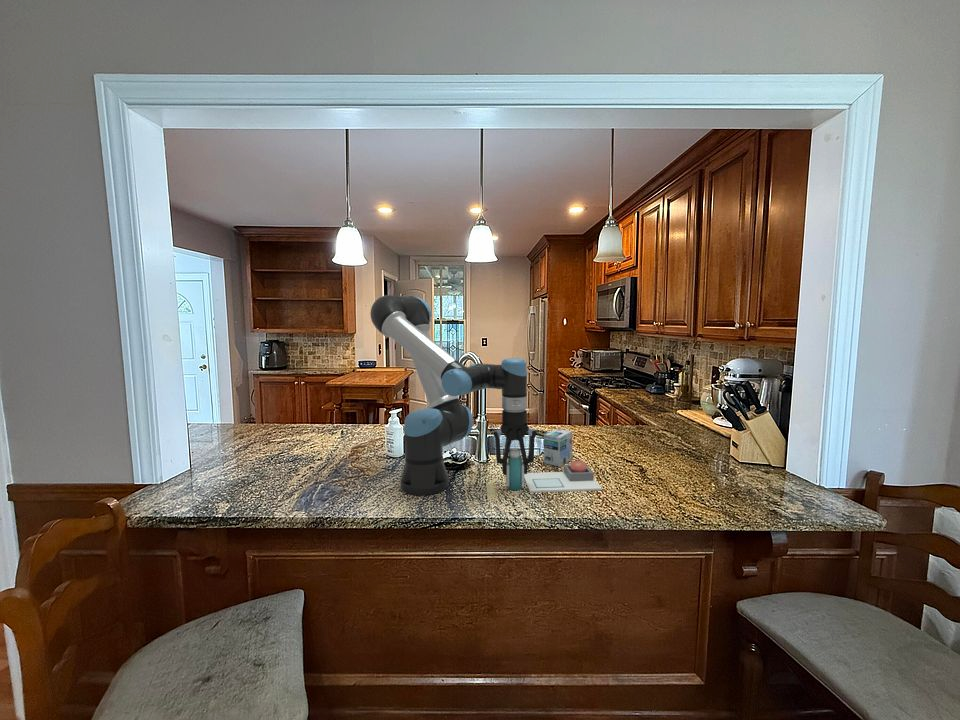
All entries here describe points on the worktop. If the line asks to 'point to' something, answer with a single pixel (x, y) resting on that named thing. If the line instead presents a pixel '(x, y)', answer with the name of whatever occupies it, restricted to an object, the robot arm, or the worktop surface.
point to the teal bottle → (514, 469)
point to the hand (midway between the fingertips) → (514, 484)
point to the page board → (561, 481)
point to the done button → (577, 466)
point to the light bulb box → (558, 447)
